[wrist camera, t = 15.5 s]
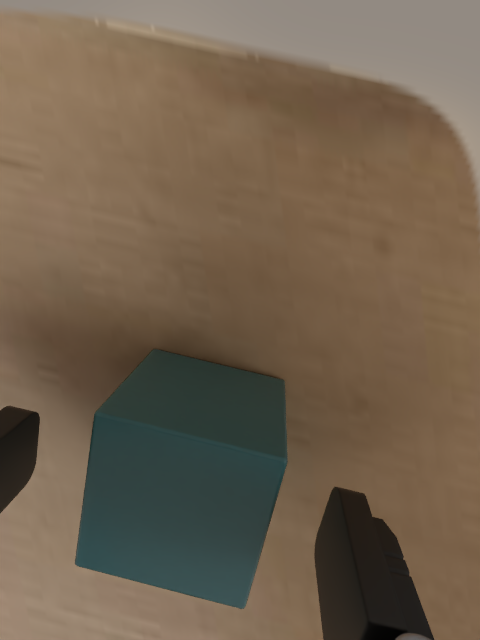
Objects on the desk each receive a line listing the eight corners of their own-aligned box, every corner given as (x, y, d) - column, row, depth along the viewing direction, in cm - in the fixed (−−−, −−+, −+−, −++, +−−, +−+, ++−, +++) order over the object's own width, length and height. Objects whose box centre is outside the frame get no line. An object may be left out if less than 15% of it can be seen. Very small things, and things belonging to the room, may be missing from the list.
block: (285, 379, 13) (288, 460, 9) (255, 491, 14) (244, 611, 10) (153, 347, 13) (93, 412, 9) (134, 461, 15) (73, 567, 10)
